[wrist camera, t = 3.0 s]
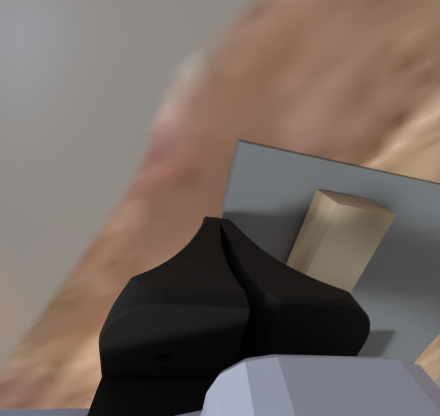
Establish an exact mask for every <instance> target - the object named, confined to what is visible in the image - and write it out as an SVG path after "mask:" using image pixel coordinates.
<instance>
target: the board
mask: <svg viewBox="0 0 440 416" xmlns="http://www.w3.org/2000/svg"><path fill="white" fill-rule="evenodd" d="M317 189H318V190H323V191H328V192H333V193H338V194H344V195H349V196H354V197H359V198H364V199H368V200H370V201H371V202H373V203H375V204H377V205H379V206H381V207H383V208H385V209H387V210H389V211H390V212H392V213H394V214H396V216H395V218H394V220H393V221H392V223H391V225H390V227H389V228H388V230H387V232H386V233H385V235H384V237H383V238H382V240H381V242H380V244H379V245H378V247H377V249H376V250H375V252H374V254H373V255H372V257H371V259H370V261H369V262H368V264H367V266H366V267H365V269H364V271H363V272H362V274H361V276H360V278H359V279H358V281H357V283H356V284H355V286H354V288H353V289H352V291H351V293H350V294H351V295H352V296H353V298H354V299H355V300H356V301H357V303H358V304H359V305H360V306H361V307H362V309H363V310H364V311H365V312H366V314H367V315H368V317H369V320H370V323H371V324H370V333H369V336H368V338H367V340H366V342H365V344H364V345H363V347H362V348H361V350H360V352H359V353H358V355H357V356H356V357H392V358H396V359H399V360H403V361H407V362H411V363H414V362H415V361H416V359H417V358H418V357H419V356H420V355H421V354H422V353H423V351H424V350H425V349H426V348H427V347H428V346H429V345H430V344H431V342H432V341H433V340H434V339H435V338H436V337H437V336H438V335H439V333H440V183H435V182H431V181H426V180H422V179H417V178H412V177H408V176H403V175H399V174H394V173H389V172H385V171H380V170H376V169H371V168H366V167H362V166H357V165H353V164H348V163H343V162H339V161H334V160H330V159H325V158H320V157H316V156H311V155H307V154H302V153H297V152H293V151H288V150H284V149H279V148H274V147H270V146H265V145H261V144H256V143H251V142H247V141H242V140H237V144H236V148H235V152H234V157H233V161H232V165H231V170H230V174H229V178H228V182H227V187H226V191H225V195H224V199H223V204H222V208H221V212H220V217H219V218H224V219H230V220H231V221H232V222H233V223H234V224H235V225H236V226H237V227H238V228H239V229H240V230H241V231H242V232H243V233H244V234H245V235H246V236H247V237H248V238H249V239H251V240H252V241H253V242H254V243H255V244H256V245H258V246H259V247H260V248H261V249H263V250H264V251H265V252H267V253H268V254H270V255H271V256H273V257H274V258H276V259H277V260H279V261H281V262H282V263H284V264H286V263H287V261H288V259H289V256H290V254H291V251H292V249H293V246H294V244H295V241H296V239H297V236H298V234H299V232H300V229H301V227H302V224H303V222H304V219H305V217H306V214H307V212H308V209H309V207H310V205H311V202H312V200H313V197H314V195H315V192H316V190H317Z"/></svg>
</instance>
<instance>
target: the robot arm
mask: <svg viewBox="0 0 440 416" xmlns="http://www.w3.org/2000/svg"><path fill="white" fill-rule="evenodd" d="M370 324H371V323H370V320H369V317H368V315H367V314H366V312H365V311H364V310H363V309H362V307H361V306H360V305H359V304H358V303H357V301H356V300H355V299H354V298H353V296H352V295H351V294H350V293H349V292H348V291H345V290H343V289H340V288H337V287H335V286H332V285H329V284H326V283H324V282H321V281H319V280H316V279H314V278H312V277H310V276H307V275H305V274H303V273H301V272H299V271H297V270H295V269H293V268H291V267H289V266H288V265H286V264H284V263H282V262H281V261H279V260H277V259H276V258H274V257H273V256H271V255H270V254H268V253H267V252H265V251H264V250H263V249H261V248H260V247H259V246H258V245H256V244H255V243H254V242H253V241H252V240H251V239H249V238H248V237H247V236H246V235H245V234H244V233H243V232H242V231H241V230H240V229H239V228H238V227H237V226H236V225H235V224H234V223H233V222H232V221H231V220H230V219H224V218H214V217H205V218H203V223H202V225H201V227H200V229H199V230H198V232H197V234H196V235H195V236H194V237H193V239H192V240H191V241H190V242H189V243H188V244H187V245H186V246H185V247H184V248H183V249H182V250H181V251H180V252H179V253H177V254H176V255H175V256H174V257H172V258H171V259H170V260H168V261H166V262H165V263H163V264H161V265H159V266H158V267H156V268H154V269H151V270H149V271H147V272H144V273H142V274H140V275H137V276H134V277H132V278H131V279H130V281H129V282H128V283H127V285H126V286H125V288H124V289H123V290H122V292H121V293H120V295H119V297H118V298H117V300H116V301H115V303H114V305H113V306H112V308H111V310H110V312H109V314H108V317H107V319H106V321H105V323H104V325H103V328H102V330H101V332H100V337H99V352H100V362H101V372H102V378H101V381H100V383H99V386H98V389H97V391H96V394H95V396H94V399H93V402H92V404H91V407H90V409H0V416H440V388H439V387H438V386H437V385H436V383H435V382H434V381H433V380H432V379H431V378H430V376H429V375H428V374H427V373H426V372H425V371H424V369H423V368H422V367H421V366H420V365H418V364H414V363H411V362H407V361H403V360H399V359H396V358H392V357H356V356H357V355H358V353H359V352H360V350H361V348H362V347H363V345H364V344H365V342H366V340H367V338H368V336H369V333H370Z"/></svg>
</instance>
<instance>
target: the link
mask: <svg viewBox="0 0 440 416" xmlns="http://www.w3.org/2000/svg"><path fill="white" fill-rule="evenodd" d="M395 216H396V214H394V213H392V212H390V211H389V210H387V209H385V208H383V207H381V206H379V205H377V204H375V203H373V202H371V201H370V200H368V199H364V198H359V197H354V196H349V195H344V194H338V193H333V192H328V191H323V190H318V189H317V190H316V192H315V195H314V197H313V200H312V202H311V205H310V207H309V209H308V212H307V214H306V217H305V219H304V222H303V224H302V227H301V229H300V232H299V234H298V236H297V239H296V241H295V244H294V246H293V249H292V251H291V254H290V256H289V259H288V261H287V263H286V265H288V266H289V267H291V268H293V269H295V270H297V271H299V272H301V273H303V274H305V275H307V276H310V277H312V278H314V279H316V280H319V281H321V282H324V283H326V284H329V285H332V286H335V287H337V288H340V289H343V290H345V291H348V292H349V293H351V291H352V289H353V288H354V286H355V284H356V283H357V281H358V279H359V278H360V276H361V274H362V272H363V271H364V269H365V267H366V266H367V264H368V262H369V261H370V259H371V257H372V255H373V254H374V252H375V250H376V249H377V247H378V245H379V244H380V242H381V240H382V238H383V237H384V235H385V233H386V232H387V230H388V228H389V227H390V225H391V223H392V221H393V220H394V218H395Z"/></svg>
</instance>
